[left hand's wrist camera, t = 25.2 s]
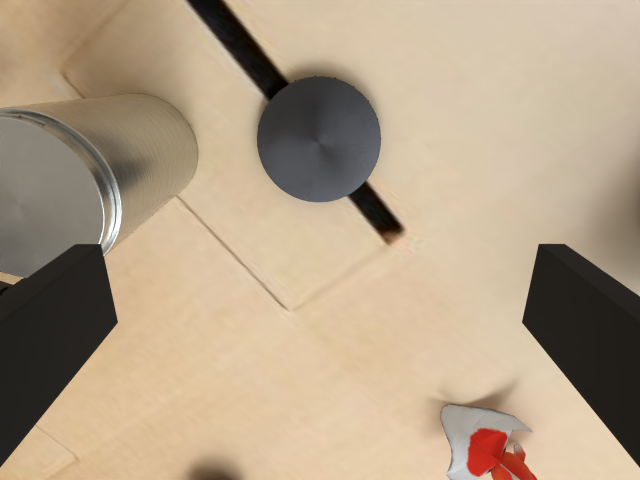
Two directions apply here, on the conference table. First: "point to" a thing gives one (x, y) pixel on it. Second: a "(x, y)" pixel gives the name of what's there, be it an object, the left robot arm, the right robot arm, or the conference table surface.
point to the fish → (483, 444)
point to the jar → (86, 173)
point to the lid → (319, 139)
